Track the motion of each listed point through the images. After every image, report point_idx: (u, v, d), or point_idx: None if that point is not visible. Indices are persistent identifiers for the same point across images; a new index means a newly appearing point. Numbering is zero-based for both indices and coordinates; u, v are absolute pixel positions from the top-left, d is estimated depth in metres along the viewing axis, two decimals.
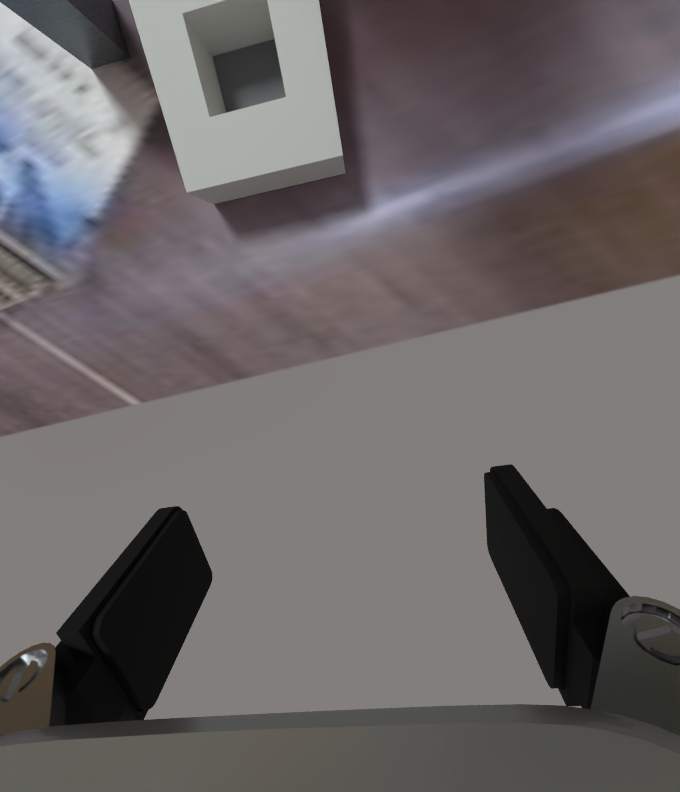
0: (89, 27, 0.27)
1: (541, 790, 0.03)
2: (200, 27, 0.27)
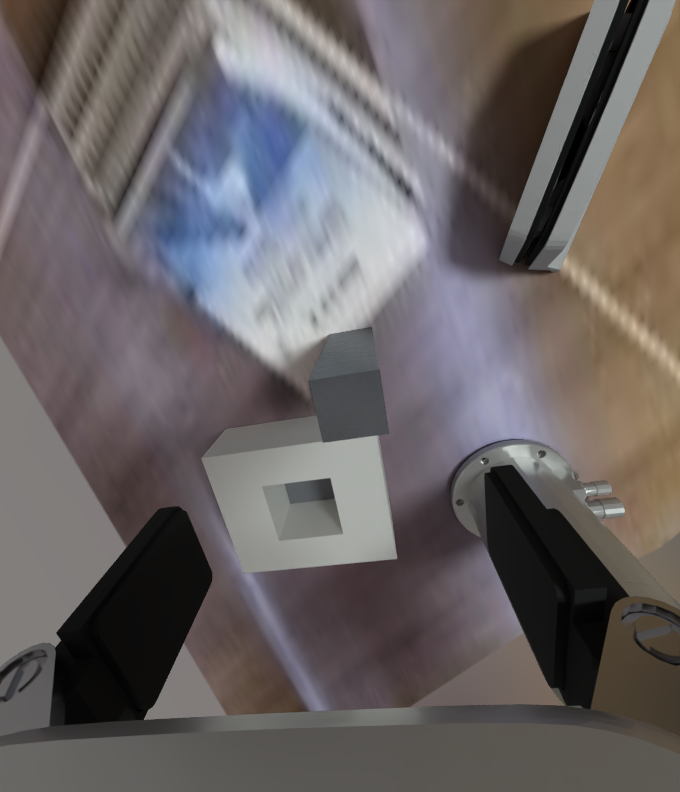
0: None
1: (540, 790, 0.03)
2: None
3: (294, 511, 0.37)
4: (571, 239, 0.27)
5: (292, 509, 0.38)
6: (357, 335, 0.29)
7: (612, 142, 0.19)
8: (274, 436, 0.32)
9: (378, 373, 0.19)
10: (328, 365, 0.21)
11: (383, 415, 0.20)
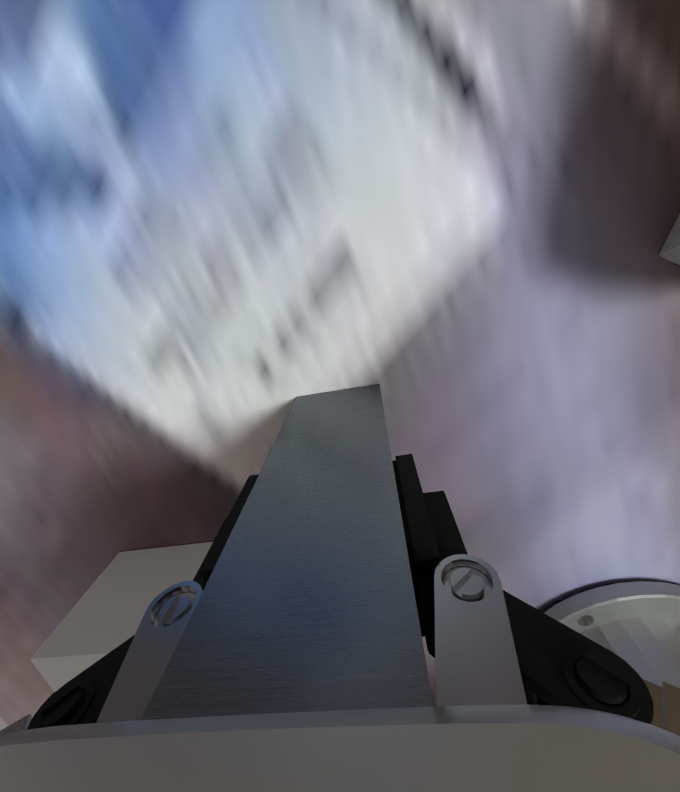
0: None
1: (541, 790, 0.03)
2: None
3: None
4: None
5: None
6: (349, 414, 0.13)
7: None
8: None
9: None
10: (229, 639, 0.06)
11: None
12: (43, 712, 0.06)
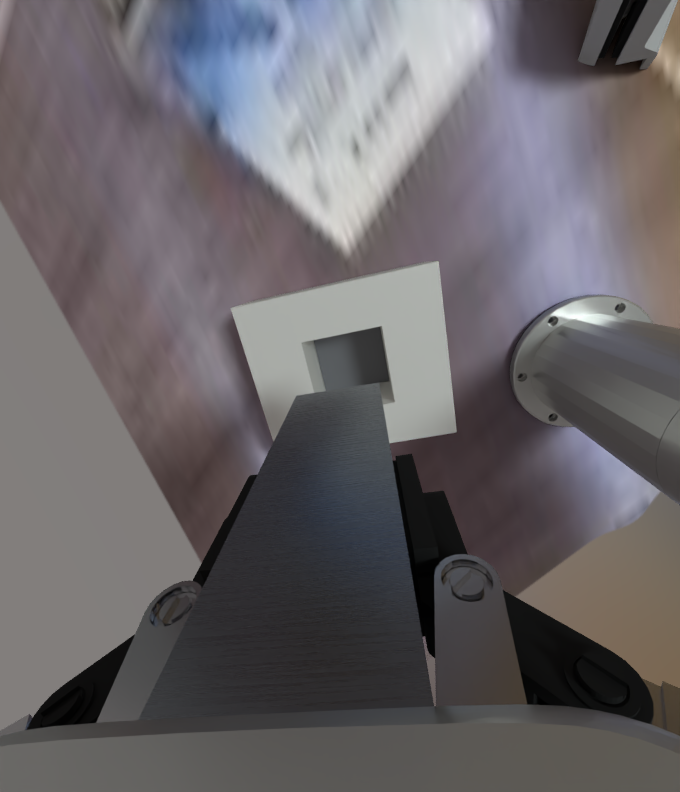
0: None
1: (540, 790, 0.03)
2: (381, 329, 0.28)
3: None
4: (673, 7, 0.22)
5: None
6: (349, 412, 0.13)
7: None
8: (313, 288, 0.28)
9: None
10: (228, 636, 0.06)
11: None
12: (42, 713, 0.06)
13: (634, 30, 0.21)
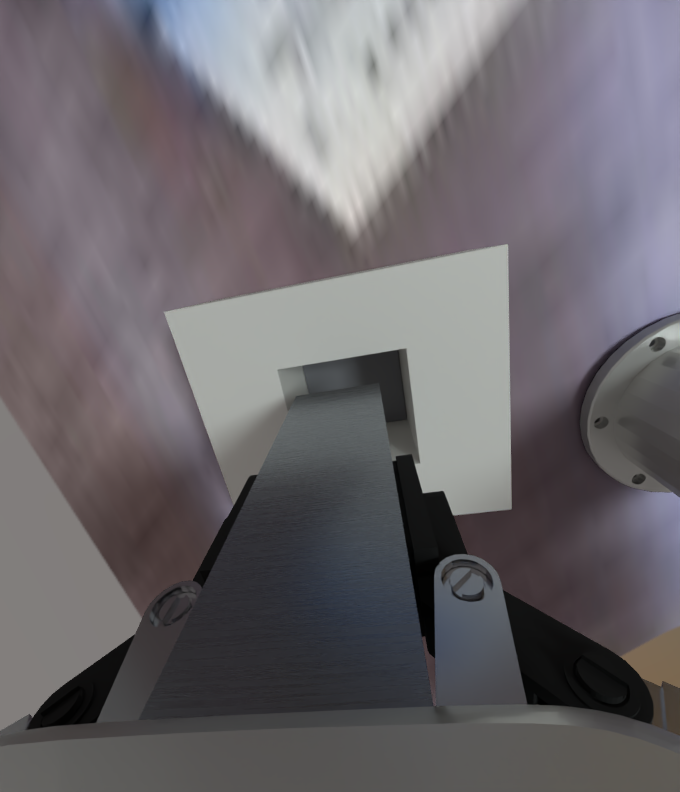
0: None
1: (541, 790, 0.03)
2: (403, 350, 0.18)
3: None
4: None
5: None
6: (349, 412, 0.13)
7: None
8: (299, 284, 0.18)
9: None
10: (228, 638, 0.06)
11: None
12: (43, 712, 0.06)
13: None
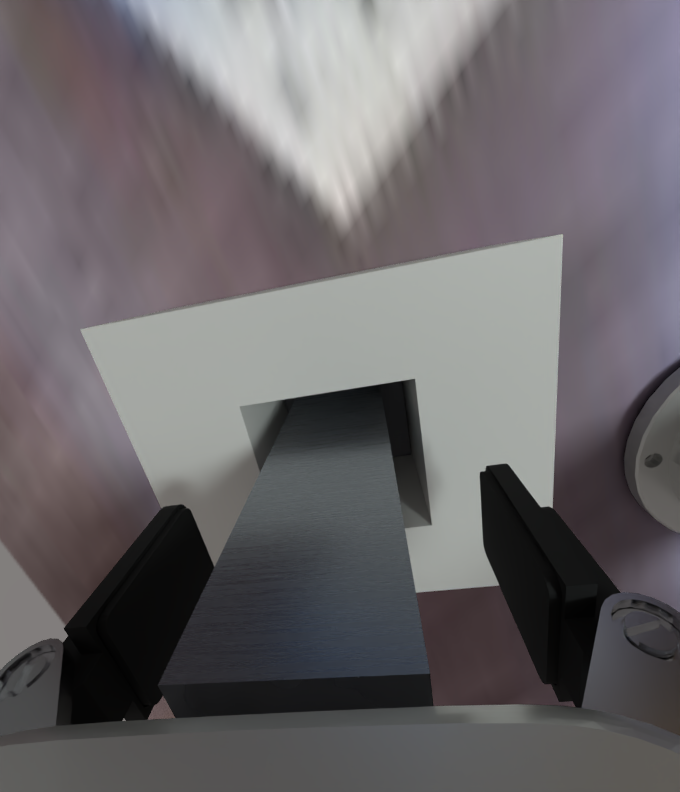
0: None
1: (541, 790, 0.03)
2: None
3: None
4: None
5: None
6: (351, 396, 0.15)
7: None
8: (271, 290, 0.13)
9: (424, 684, 0.05)
10: (262, 546, 0.07)
11: None
12: None
13: None
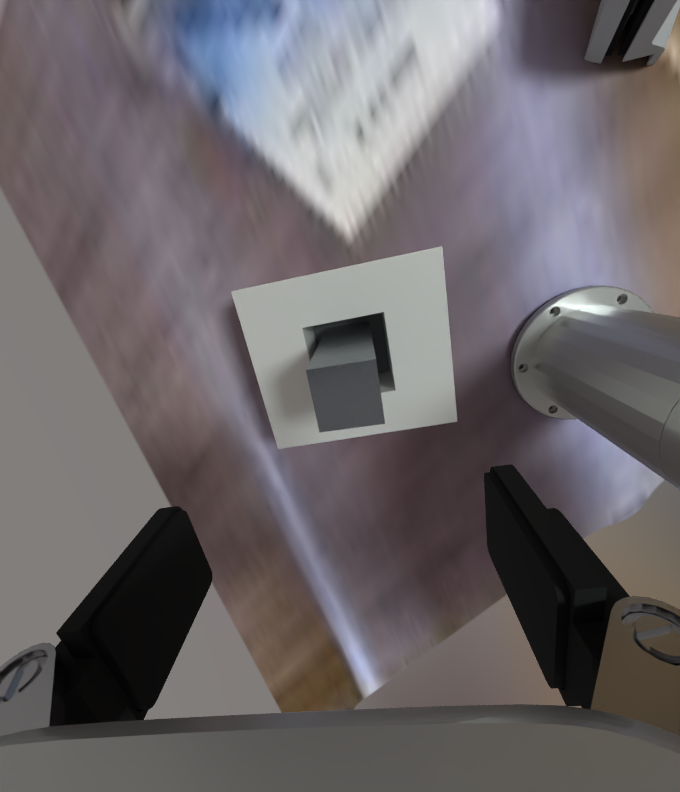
0: None
1: (541, 790, 0.03)
2: (383, 316, 0.28)
3: None
4: (679, 3, 0.22)
5: None
6: (354, 328, 0.29)
7: None
8: None
9: (375, 363, 0.19)
10: (325, 356, 0.22)
11: (380, 405, 0.20)
12: None
13: (642, 27, 0.21)
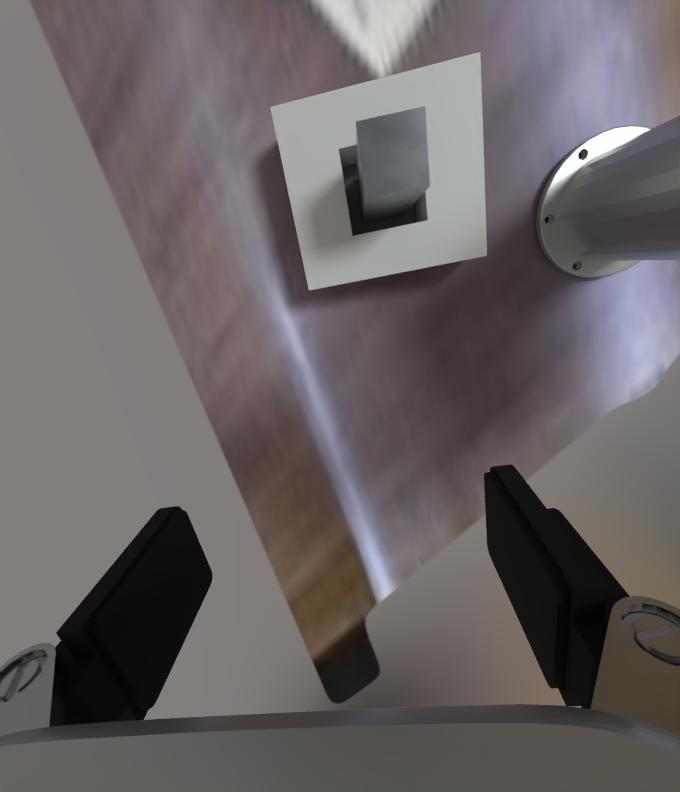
0: (362, 212, 0.30)
1: (541, 790, 0.03)
2: None
3: None
4: None
5: None
6: None
7: None
8: None
9: (424, 111, 0.19)
10: None
11: (426, 163, 0.20)
12: None
13: None
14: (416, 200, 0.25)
